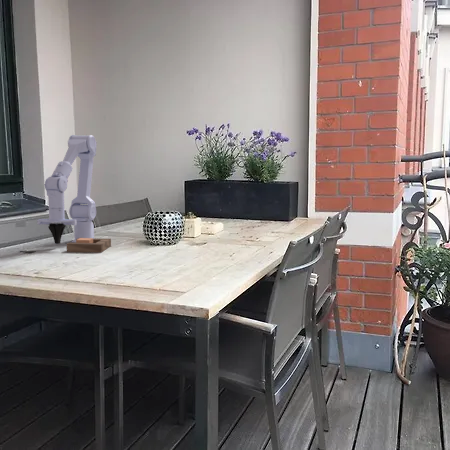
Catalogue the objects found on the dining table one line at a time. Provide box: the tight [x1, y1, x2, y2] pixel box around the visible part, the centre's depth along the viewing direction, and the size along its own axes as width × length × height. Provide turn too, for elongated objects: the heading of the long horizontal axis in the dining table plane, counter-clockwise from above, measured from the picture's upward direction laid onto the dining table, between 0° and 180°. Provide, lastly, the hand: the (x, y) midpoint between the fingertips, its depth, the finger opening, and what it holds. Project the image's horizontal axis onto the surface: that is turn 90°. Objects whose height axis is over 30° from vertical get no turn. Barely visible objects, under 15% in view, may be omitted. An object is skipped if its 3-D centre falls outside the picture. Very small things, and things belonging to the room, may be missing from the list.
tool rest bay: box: [66, 237, 112, 254], centre depth 197 cm, size 14×13×3 cm
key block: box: [75, 238, 93, 243], centre depth 197 cm, size 5×5×4 cm
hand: (57, 243), depth 197 cm, fingers closed
